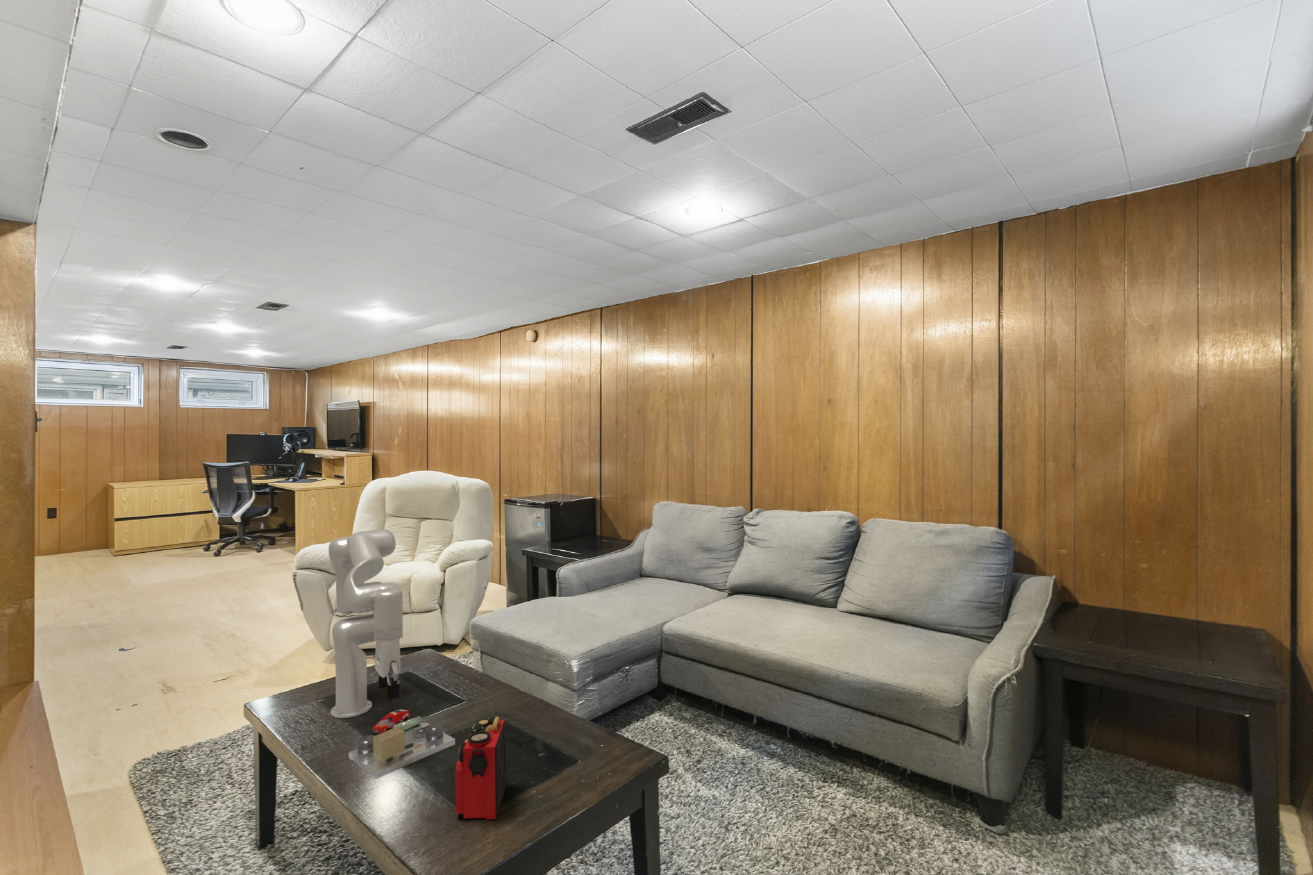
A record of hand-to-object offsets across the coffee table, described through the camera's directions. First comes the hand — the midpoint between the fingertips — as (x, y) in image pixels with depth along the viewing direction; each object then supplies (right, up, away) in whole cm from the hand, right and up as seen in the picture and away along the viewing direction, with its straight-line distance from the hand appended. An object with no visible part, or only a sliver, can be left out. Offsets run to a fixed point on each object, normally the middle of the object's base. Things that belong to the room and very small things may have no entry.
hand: (388, 692), depth 173 cm
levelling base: (+1, -20, +7) cm, 21 cm away
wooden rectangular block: (+1, -18, +1) cm, 18 cm away
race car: (-9, -21, +23) cm, 32 cm away
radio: (+32, -20, -20) cm, 43 cm away
